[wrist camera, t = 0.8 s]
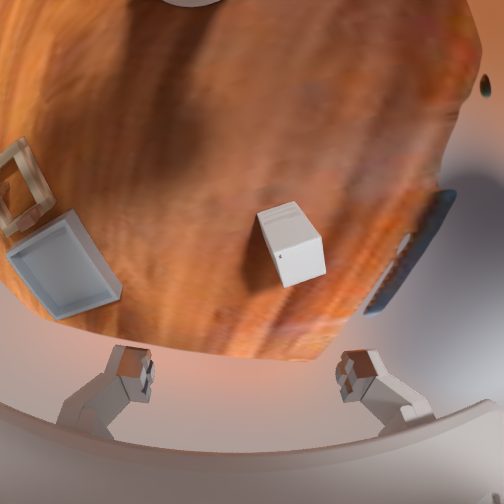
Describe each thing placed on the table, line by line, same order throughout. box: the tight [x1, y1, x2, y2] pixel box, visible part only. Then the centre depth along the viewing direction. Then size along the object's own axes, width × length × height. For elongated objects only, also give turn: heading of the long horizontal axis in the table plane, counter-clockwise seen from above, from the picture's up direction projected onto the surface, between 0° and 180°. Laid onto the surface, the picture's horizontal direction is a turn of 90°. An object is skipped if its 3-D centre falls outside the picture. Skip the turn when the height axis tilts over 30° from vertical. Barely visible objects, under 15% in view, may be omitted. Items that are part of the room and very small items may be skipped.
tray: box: [5, 209, 123, 321], centre depth 48 cm, size 19×19×4 cm
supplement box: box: [257, 201, 326, 288], centre depth 47 cm, size 7×7×13 cm
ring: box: [0, 137, 57, 238], centre depth 35 cm, size 14×14×7 cm
